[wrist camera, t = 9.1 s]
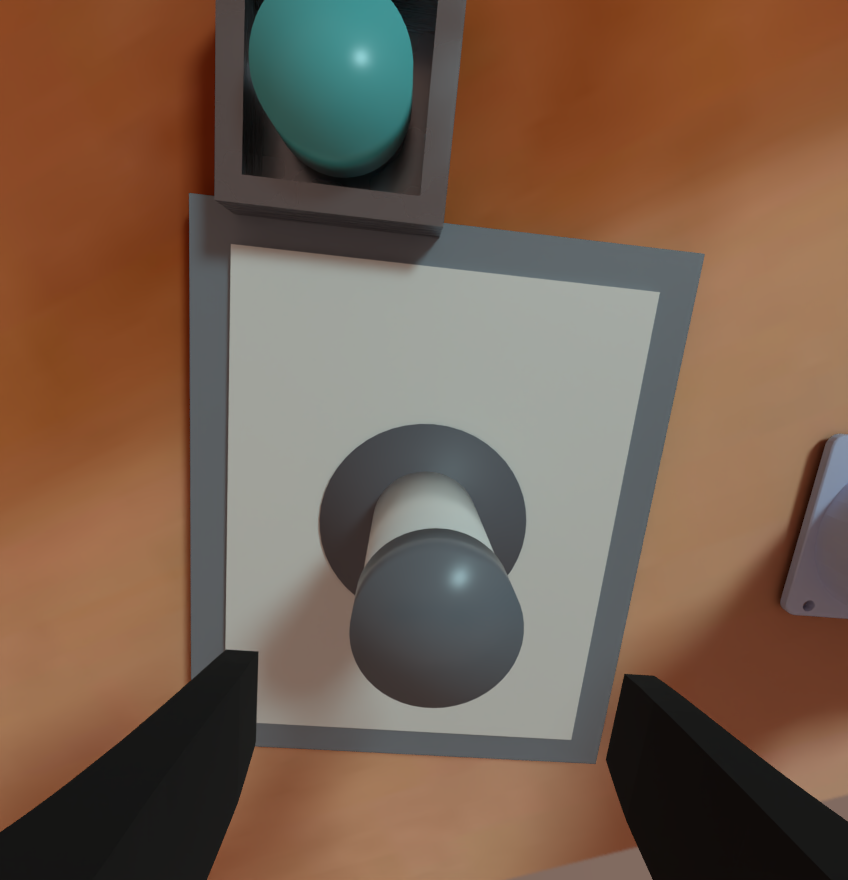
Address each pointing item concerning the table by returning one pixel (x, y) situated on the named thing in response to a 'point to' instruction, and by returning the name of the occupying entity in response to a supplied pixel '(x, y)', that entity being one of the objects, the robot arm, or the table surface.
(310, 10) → the button
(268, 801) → the table surface
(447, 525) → the capped white cylinder
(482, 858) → the table surface
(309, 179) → the button housing
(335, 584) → the board
